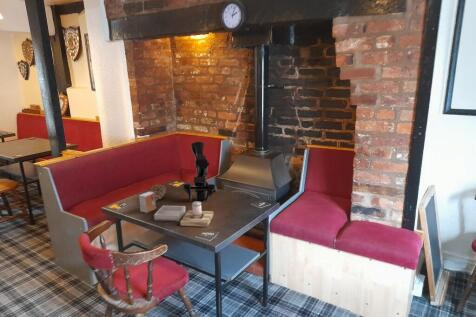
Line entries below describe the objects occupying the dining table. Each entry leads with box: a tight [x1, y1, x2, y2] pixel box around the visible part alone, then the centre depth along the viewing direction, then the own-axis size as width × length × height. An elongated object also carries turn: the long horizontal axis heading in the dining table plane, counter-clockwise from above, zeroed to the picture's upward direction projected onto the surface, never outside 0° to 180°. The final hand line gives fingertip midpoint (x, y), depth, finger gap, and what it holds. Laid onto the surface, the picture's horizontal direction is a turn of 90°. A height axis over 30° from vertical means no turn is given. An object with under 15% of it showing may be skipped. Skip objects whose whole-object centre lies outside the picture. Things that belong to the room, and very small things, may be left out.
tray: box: [153, 204, 187, 222], centre depth 198 cm, size 14×14×4 cm
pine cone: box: [138, 184, 167, 202], centre depth 221 cm, size 22×10×10 cm, turn 151°
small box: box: [138, 190, 157, 214], centre depth 207 cm, size 8×6×10 cm
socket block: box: [179, 210, 214, 228], centre depth 192 cm, size 15×15×2 cm
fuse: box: [191, 200, 203, 219], centre depth 191 cm, size 5×5×10 cm
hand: (198, 201), depth 192 cm, fingers open, 9 cm apart
